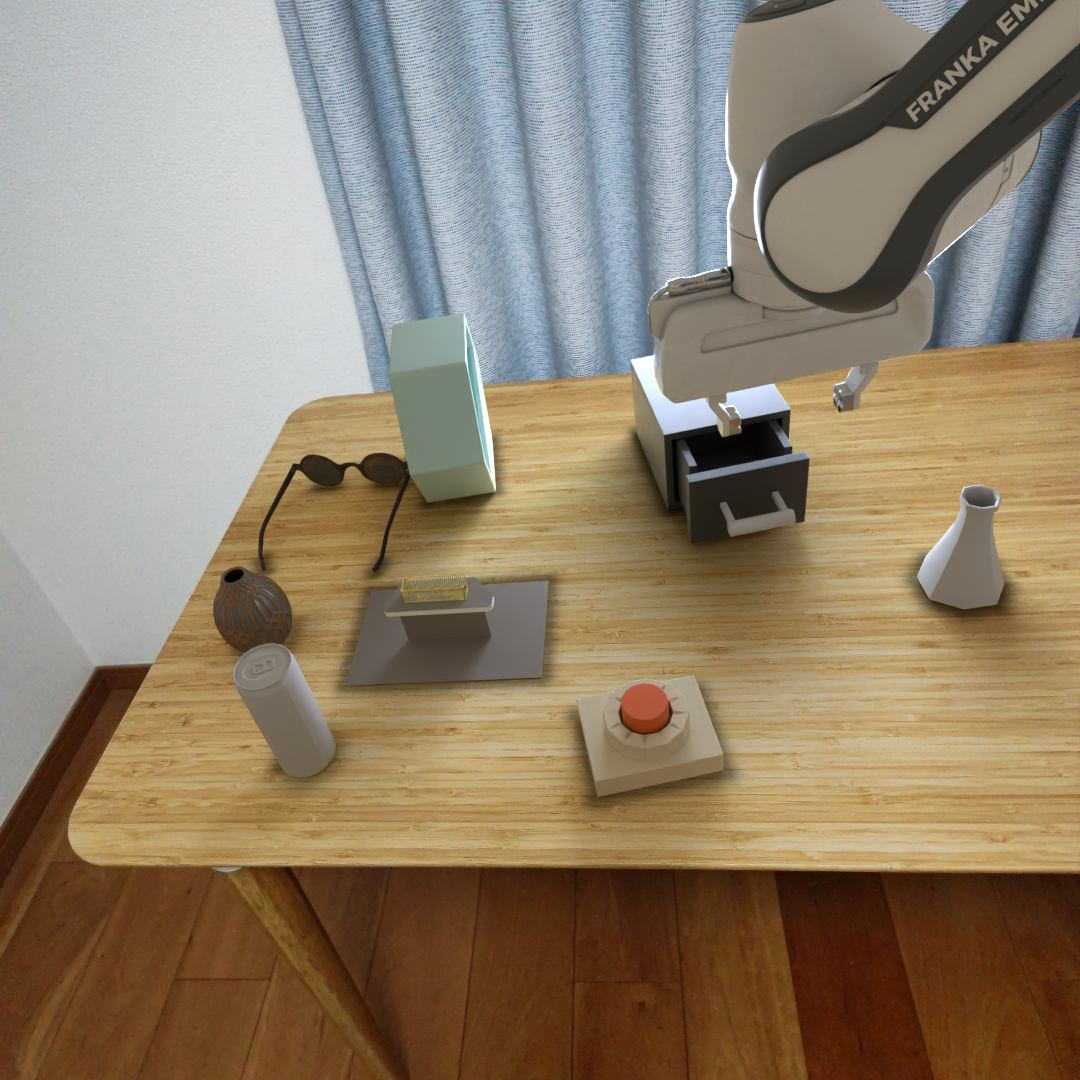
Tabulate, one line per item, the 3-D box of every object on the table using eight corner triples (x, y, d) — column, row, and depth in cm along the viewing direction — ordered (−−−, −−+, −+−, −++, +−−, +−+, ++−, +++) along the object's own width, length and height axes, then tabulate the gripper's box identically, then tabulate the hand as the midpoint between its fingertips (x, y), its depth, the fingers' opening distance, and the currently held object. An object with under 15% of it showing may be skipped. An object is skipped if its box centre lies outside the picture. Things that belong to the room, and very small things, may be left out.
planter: (501, 506, 104) (478, 443, 84) (435, 516, 104) (397, 456, 84) (483, 374, 109) (457, 284, 89) (419, 384, 109) (379, 297, 89)
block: (695, 691, 76) (693, 660, 73) (723, 770, 70) (723, 740, 67) (578, 715, 75) (573, 685, 73) (597, 797, 69) (592, 768, 67)
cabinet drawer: (821, 550, 84) (827, 486, 79) (703, 574, 84) (701, 511, 79) (759, 443, 98) (761, 382, 92) (656, 463, 97) (653, 404, 92)
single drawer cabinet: (786, 486, 93) (790, 409, 87) (667, 510, 93) (663, 435, 87) (741, 410, 104) (743, 337, 98) (635, 431, 104) (630, 359, 97)
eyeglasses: (419, 482, 102) (409, 447, 99) (384, 574, 92) (372, 538, 88) (300, 484, 105) (287, 449, 102) (253, 573, 95) (236, 538, 91)
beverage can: (278, 745, 77) (227, 655, 69) (332, 724, 78) (288, 633, 70) (286, 789, 74) (233, 700, 66) (342, 767, 75) (297, 676, 67)
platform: (371, 590, 90) (353, 543, 86) (548, 580, 88) (539, 531, 83) (345, 685, 81) (324, 638, 77) (542, 677, 79) (531, 627, 74)
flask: (918, 608, 79) (936, 523, 72) (914, 551, 84) (930, 467, 77) (1009, 615, 77) (1036, 528, 70) (999, 556, 82) (1023, 471, 75)
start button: (662, 692, 71) (661, 678, 70) (674, 728, 69) (673, 715, 68) (618, 701, 71) (616, 687, 70) (628, 738, 69) (626, 724, 68)
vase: (315, 621, 88) (286, 557, 82) (272, 674, 84) (238, 610, 78) (260, 606, 91) (228, 542, 85) (216, 656, 86) (179, 593, 80)
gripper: (655, 306, 60) (668, 469, 69) (957, 243, 60) (929, 415, 69) (635, 266, 64) (650, 424, 73) (915, 208, 64) (894, 373, 73)
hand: (787, 419), depth 71 cm, fingers open, 8 cm apart
